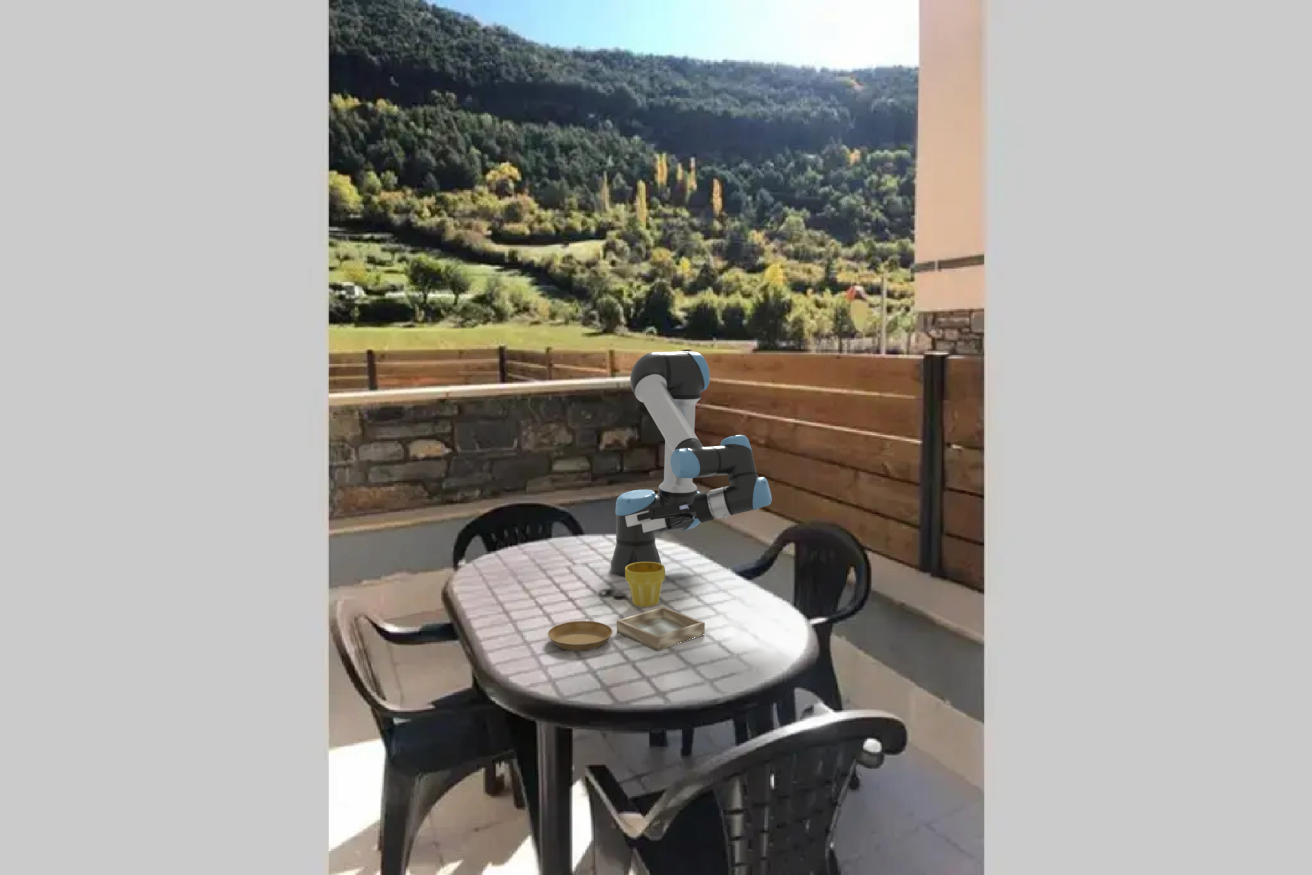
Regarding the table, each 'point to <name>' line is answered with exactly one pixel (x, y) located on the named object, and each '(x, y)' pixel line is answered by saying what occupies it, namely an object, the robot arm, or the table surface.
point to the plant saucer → (580, 635)
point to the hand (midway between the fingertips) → (634, 524)
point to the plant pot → (645, 582)
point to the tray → (660, 628)
